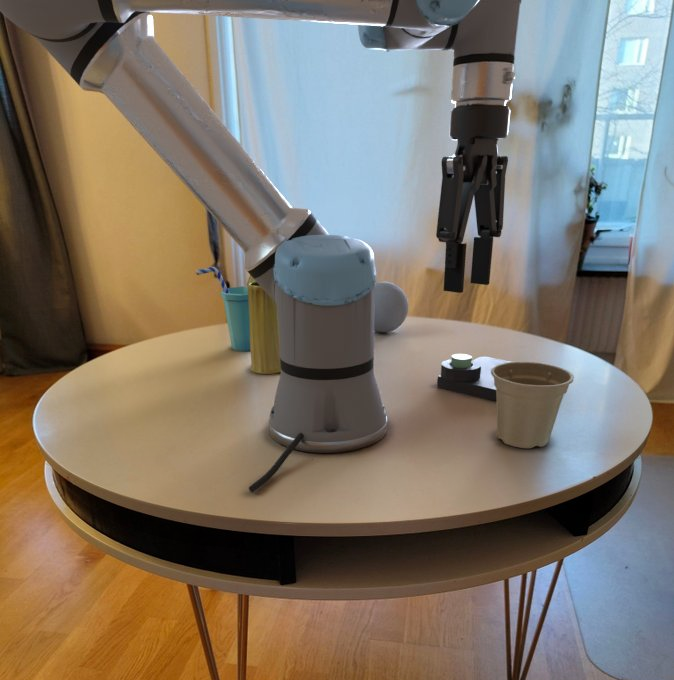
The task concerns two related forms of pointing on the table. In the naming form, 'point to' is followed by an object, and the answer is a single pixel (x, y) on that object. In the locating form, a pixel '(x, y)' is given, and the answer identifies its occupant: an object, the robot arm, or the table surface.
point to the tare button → (461, 361)
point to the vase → (263, 331)
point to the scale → (471, 377)
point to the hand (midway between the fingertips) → (466, 287)
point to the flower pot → (528, 401)
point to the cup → (235, 311)
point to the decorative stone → (389, 307)
